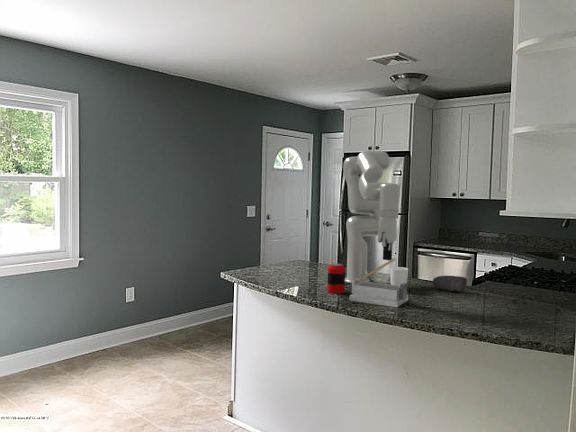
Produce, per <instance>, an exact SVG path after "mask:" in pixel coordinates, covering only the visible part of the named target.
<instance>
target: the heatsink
mask: <svg viewBox="0 0 576 432" xmlns="http://www.w3.org/2000/svg"><path fill="white" fill-rule="evenodd" d="M356 280H358V278H355V279H353V280H352V283H351V294H350V295H349V301H352V302H358V303H363V304H364V303H365V304H371V305H377V306H384V307H392V308H399V307H401V306H402V305H403V304H405V303H406V302H408V301H409V295H408V282H407V283H403V284H401V285H400V286H397V285H391V284H389V283H387V284H386V283H380V282H373V281H372V282H371V281H370V282H365V281H362V283H361V282H360V283H359V284H358V283H356Z"/></svg>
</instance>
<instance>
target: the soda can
mask: <svg viewBox="0 0 576 432" xmlns="http://www.w3.org/2000/svg"><path fill="white" fill-rule="evenodd" d="M345 277H346V267H345V266H344V265H343V264H342V263H330V264H329V266H328V267H327V283H326V285H327V288H326V289H327V290H326V291H327V293H330V294H334V295H340V294H341V295H342V294H344V293H346V292H345V290H346V289H345V288H346V287H345V285H346V284H345V283H346V282H345Z"/></svg>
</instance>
